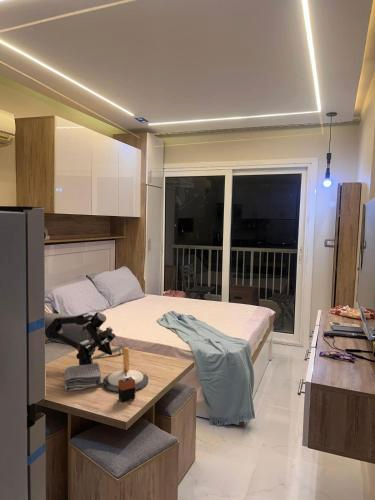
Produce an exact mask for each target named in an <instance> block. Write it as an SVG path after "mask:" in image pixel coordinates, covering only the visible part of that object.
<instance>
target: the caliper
mask: <svg viewBox="0 0 375 500" xmlns="http://www.w3.org/2000/svg"><path fill="white" fill-rule="evenodd" d="M123 348H125V347H124V345H123V344H122V343H121V344H119V346H115V347H114V348H111V351H112V354H115V353H117V352H118V353H119V354H120V355H121V354H122V353H123ZM106 355H108V354H107V353H105V352H101V353H99V354H96V355H94V356H93V355H92V359H93V360H94V359H99V358H101V357H104V356H106Z"/></svg>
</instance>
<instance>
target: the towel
mask: <svg viewBox="0 0 375 500" xmlns="http://www.w3.org/2000/svg"><path fill="white" fill-rule="evenodd" d="M102 386H103V378H102V377H101V369H100V367H99V364H98V362H93V364H88V365H79V364H78V365H72V366H68V367H67V368H66V369H64V391H65V392H74V391H80V390H84V389H85V390H86V389H91V388H98V387H102Z"/></svg>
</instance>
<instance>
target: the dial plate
mask: <svg viewBox="0 0 375 500" xmlns="http://www.w3.org/2000/svg"><path fill="white" fill-rule="evenodd" d="M138 371H139V370H138ZM139 372H141V373H142V374H143V380H142V382H140V383H139V384H137V385H135V392H137V391H140V390H142V389H144V388H145V387H147V385H148V384H149V377H148V375H147V374H146V373H145V372H143V371H139ZM112 373H113V372H112ZM112 373H110V374H112ZM110 374H109V373H108V374H107V375H105V377H104V378H102V381H103V384H102V386H103V388H104V390H107V391H108V392H111V393H114V394H115V393H117V394H119V387H117V386H113V385H111V384H109V382H108V377H109V375H110Z"/></svg>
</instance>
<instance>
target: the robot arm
mask: <svg viewBox="0 0 375 500" xmlns="http://www.w3.org/2000/svg"><path fill="white" fill-rule="evenodd" d="M106 321H107V317H106V315H105V314H103V313H101V312H100V311H97V312H95V313H94V315H93V314H90V313H89V312H84V313H81V314H78V315H70V316H58V317H55V318H54V319H53V321H52V322H51V323H50V324H49V325H48V326H47V327H46V329H44V335H45V337H46V338H49V339H52V340H59V341H60V342H62V343H64V344H67V345H68V346H69V347H72V348H74V349H76V350H77V352H78V353H77V354H76V355H75V356H76V359H77V360H78V363H79V364H78V366H79V365H88V364H93V363H94V361H93V360H94V359H92V357H93V355H94V353H95V352H96V350H97V351H100V352H101V353H104V352H105V353H107V355H109V356H112V355H113V352H112V351H111V350H112V348H111V345H110V343H111V342H112V341H113V340H114V339H115V338H116V337H117V336H116V334H115V333H113V331H114V330H113V328H112V327H111V326H108V327H106V329H105V330H103V329H99V328H101V326H102V325H103V324H104V323H105V322H106ZM70 324H75V325H77V326H82V332H85V331H86V332H87V333H88V335H89V336H90V340H93V341H90V340H88V339H85V340H83V341H82V340H80V339H78V338H76V337H75V336H72V335H70V334H68V333H66V332H64V330H63V325H70ZM96 348H97V349H96Z"/></svg>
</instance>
